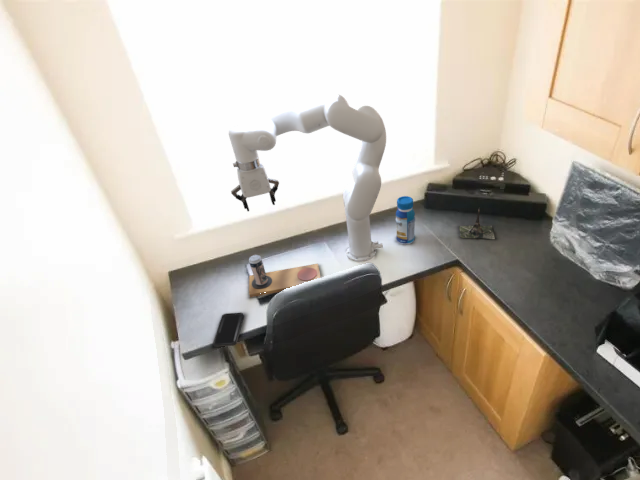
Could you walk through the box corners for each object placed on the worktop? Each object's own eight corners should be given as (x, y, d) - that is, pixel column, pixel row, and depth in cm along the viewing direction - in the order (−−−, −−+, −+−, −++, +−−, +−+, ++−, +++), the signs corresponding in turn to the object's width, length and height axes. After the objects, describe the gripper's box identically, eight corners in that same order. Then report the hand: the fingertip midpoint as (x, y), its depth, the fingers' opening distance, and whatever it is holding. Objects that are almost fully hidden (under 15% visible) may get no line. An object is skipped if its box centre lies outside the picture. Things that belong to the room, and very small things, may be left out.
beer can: (265, 286, 161) (257, 262, 153) (253, 285, 162) (245, 261, 154) (270, 278, 165) (262, 254, 157) (259, 277, 166) (251, 253, 158)
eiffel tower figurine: (491, 226, 189) (495, 200, 180) (494, 239, 181) (499, 212, 173) (458, 226, 190) (461, 200, 181) (460, 239, 183) (462, 212, 174)
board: (318, 266, 172) (317, 262, 171) (321, 284, 164) (321, 280, 162) (250, 278, 168) (249, 275, 167) (250, 297, 159) (248, 294, 158)
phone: (243, 312, 151) (235, 343, 140) (244, 314, 152) (236, 345, 141) (222, 313, 151) (211, 344, 140) (223, 316, 152) (213, 347, 141)
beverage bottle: (416, 243, 181) (417, 203, 168) (397, 246, 181) (396, 205, 167) (413, 233, 188) (413, 193, 174) (394, 235, 187) (393, 195, 174)
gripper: (225, 173, 139) (239, 217, 151) (275, 162, 144) (285, 205, 155) (222, 164, 145) (236, 207, 156) (270, 154, 149) (281, 196, 161)
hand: (260, 206), depth 156 cm, fingers open, 9 cm apart
